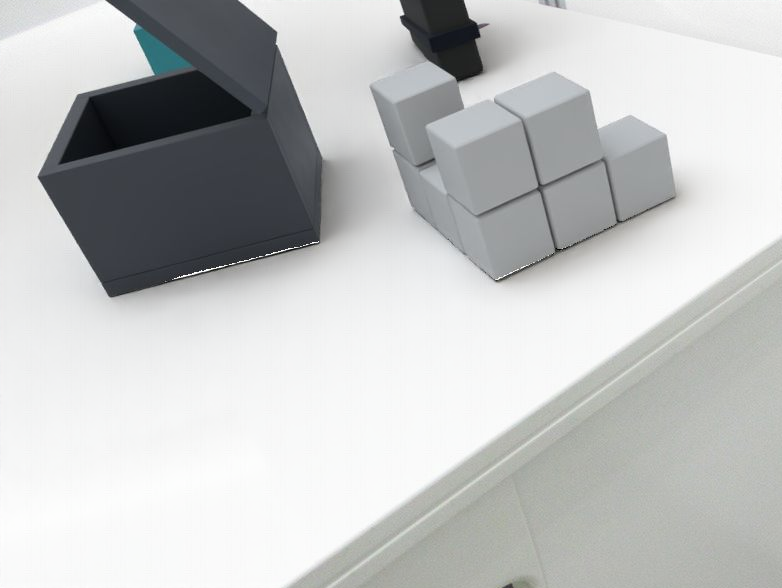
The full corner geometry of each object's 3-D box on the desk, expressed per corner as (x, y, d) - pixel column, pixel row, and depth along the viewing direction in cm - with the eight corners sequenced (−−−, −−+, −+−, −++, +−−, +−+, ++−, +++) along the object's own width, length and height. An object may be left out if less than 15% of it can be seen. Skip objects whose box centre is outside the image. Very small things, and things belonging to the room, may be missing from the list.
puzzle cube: (677, 196, 62) (655, 61, 57) (495, 283, 59) (454, 147, 53) (576, 134, 70) (548, 11, 65) (411, 207, 67) (367, 83, 61)
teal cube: (158, 82, 91) (132, 30, 88) (164, 63, 95) (140, 13, 92) (209, 69, 92) (185, 17, 89) (213, 51, 95) (191, 0, 92)
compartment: (109, 297, 65) (36, 177, 60) (137, 206, 74) (76, 94, 69) (319, 243, 66) (266, 118, 60) (323, 158, 74) (277, 43, 69)
